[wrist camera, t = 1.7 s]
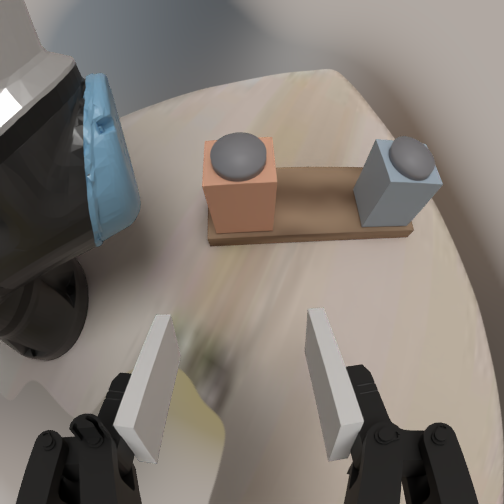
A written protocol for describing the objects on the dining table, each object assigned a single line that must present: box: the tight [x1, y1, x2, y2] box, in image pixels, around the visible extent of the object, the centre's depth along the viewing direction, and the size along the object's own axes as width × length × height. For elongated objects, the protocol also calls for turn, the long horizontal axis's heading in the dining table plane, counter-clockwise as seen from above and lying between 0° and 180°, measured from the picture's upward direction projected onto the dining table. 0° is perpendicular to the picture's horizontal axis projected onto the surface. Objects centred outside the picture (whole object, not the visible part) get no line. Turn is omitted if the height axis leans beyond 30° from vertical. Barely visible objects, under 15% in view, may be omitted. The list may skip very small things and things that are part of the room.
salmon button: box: [202, 133, 277, 233], centre depth 28 cm, size 5×6×10 cm
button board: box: [208, 167, 414, 246], centre depth 34 cm, size 9×24×2 cm, turn 92°
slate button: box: [353, 136, 443, 227], centre depth 28 cm, size 5×6×10 cm
